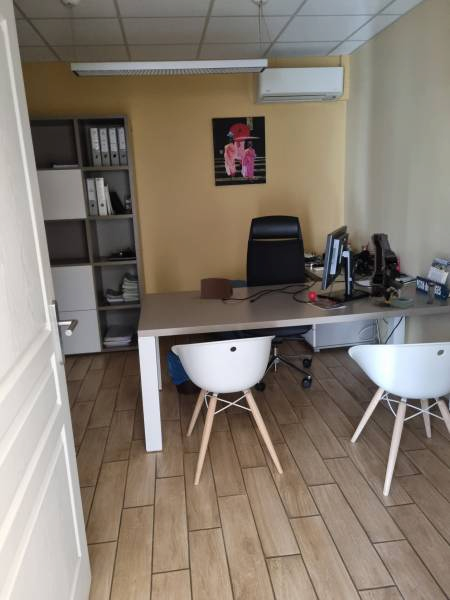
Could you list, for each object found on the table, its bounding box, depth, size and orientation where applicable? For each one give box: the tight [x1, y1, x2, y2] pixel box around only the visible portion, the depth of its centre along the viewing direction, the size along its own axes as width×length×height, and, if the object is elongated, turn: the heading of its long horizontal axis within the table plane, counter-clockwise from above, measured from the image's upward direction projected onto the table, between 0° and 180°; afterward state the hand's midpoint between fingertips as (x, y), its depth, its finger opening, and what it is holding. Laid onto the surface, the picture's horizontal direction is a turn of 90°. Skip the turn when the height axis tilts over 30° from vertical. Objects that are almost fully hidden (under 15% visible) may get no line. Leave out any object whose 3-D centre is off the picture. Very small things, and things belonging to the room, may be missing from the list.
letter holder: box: [200, 277, 234, 300], centre depth 307 cm, size 10×20×14 cm, turn 79°
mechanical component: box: [401, 282, 410, 292], centre depth 289 cm, size 3×10×10 cm, turn 78°
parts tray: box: [390, 296, 415, 310], centre depth 271 cm, size 9×9×4 cm
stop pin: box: [426, 282, 437, 305], centre depth 274 cm, size 4×4×12 cm
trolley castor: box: [391, 286, 404, 298], centre depth 281 cm, size 5×6×10 cm
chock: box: [385, 296, 397, 305], centre depth 279 cm, size 5×4×4 cm
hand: (387, 301), depth 277 cm, fingers closed
